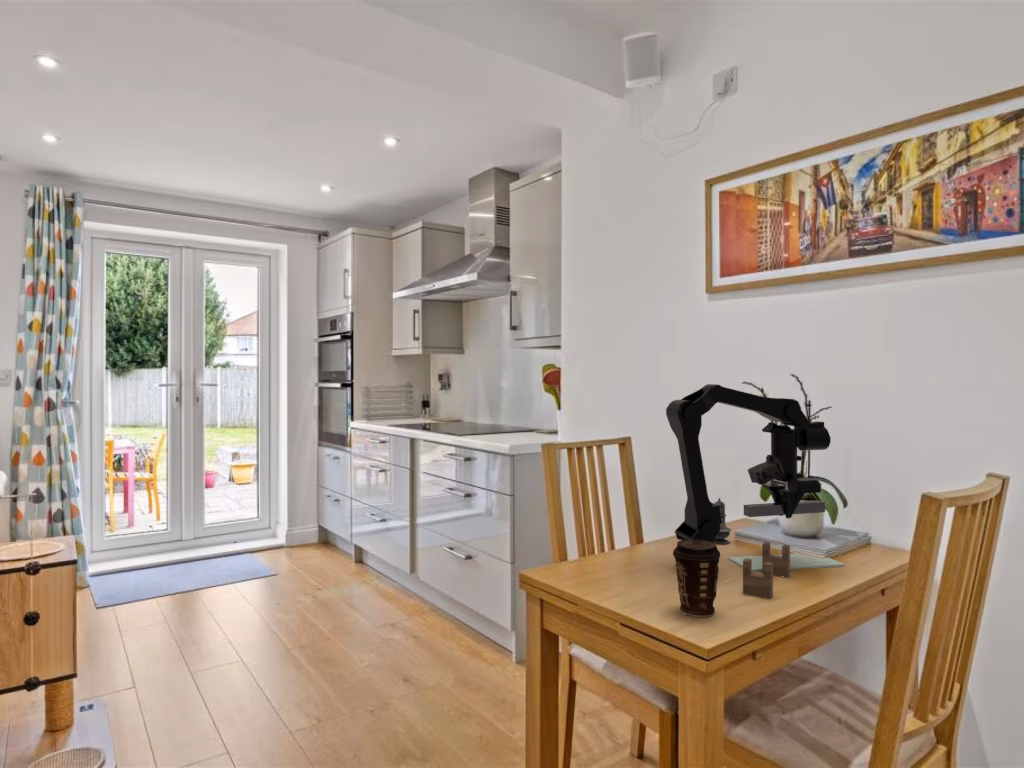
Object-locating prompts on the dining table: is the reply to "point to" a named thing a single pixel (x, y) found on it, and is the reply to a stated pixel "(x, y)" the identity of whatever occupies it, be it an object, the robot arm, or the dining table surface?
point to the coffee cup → (697, 576)
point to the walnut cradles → (765, 571)
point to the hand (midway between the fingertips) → (784, 516)
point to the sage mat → (795, 562)
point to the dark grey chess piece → (722, 526)
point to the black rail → (779, 509)
